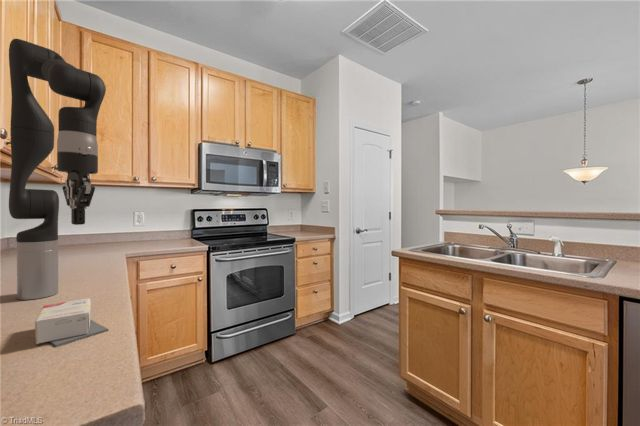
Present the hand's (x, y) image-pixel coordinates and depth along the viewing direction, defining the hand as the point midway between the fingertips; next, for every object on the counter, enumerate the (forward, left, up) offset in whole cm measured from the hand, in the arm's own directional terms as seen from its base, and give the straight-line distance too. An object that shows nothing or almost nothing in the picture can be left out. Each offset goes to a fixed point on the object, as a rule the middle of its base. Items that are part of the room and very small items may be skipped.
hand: (78, 224), depth 69 cm
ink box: (-1, -2, -21) cm, 21 cm away
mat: (+6, -3, -24) cm, 25 cm away
